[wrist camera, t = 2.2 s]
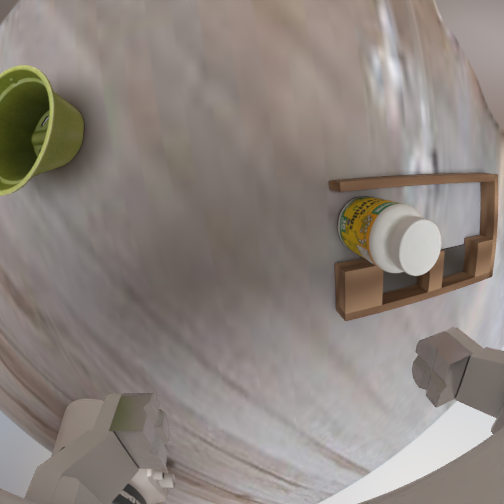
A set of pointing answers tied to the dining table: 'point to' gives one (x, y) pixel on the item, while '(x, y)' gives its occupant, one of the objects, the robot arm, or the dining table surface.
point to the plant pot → (34, 127)
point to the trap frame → (444, 270)
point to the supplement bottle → (390, 235)
